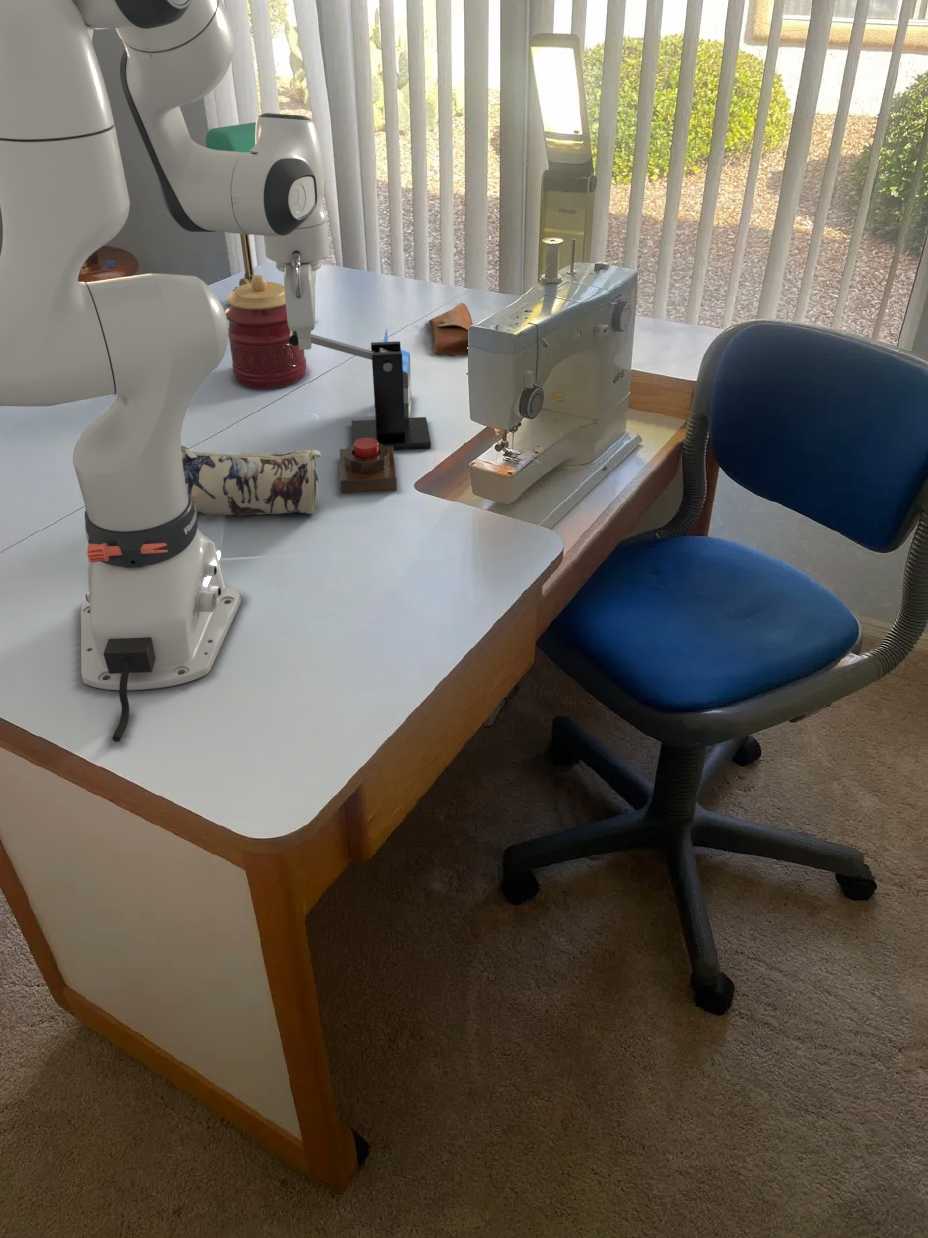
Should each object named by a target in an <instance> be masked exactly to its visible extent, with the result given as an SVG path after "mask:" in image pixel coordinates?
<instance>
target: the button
mask: <svg viewBox="0 0 928 1238" xmlns="http://www.w3.org/2000/svg"><path fill="white" fill-rule="evenodd" d="M354 455H355V457H357V458H361V459H370V458H374V457H377V456H378V455H379V444H378V441H377V440H376V439H373V438H360V439H358V440H356V441H355V442H354Z"/></svg>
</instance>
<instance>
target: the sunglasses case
mask: <svg viewBox="0 0 928 1238" xmlns="http://www.w3.org/2000/svg"><path fill="white" fill-rule="evenodd" d="M428 323H429V325H430V327H431V330H432V336H433V353H435V354H437V355H443V356H444V355H445V356H469V355H468V349H467V347H468V331H469V328H470V326H471V325H473V326H474V324H473V323H474V322H473V319H472V315H471V313H470V311H469V308H468V306H467V305H466V304H465V303H464V302H460V303H459V304H457V305H456V306H454V307H453V308H452V309H450V310H447V311H446V312H444V313H442V314H440V315H437V316H434V317H433V318H431V319H429V321H428Z"/></svg>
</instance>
